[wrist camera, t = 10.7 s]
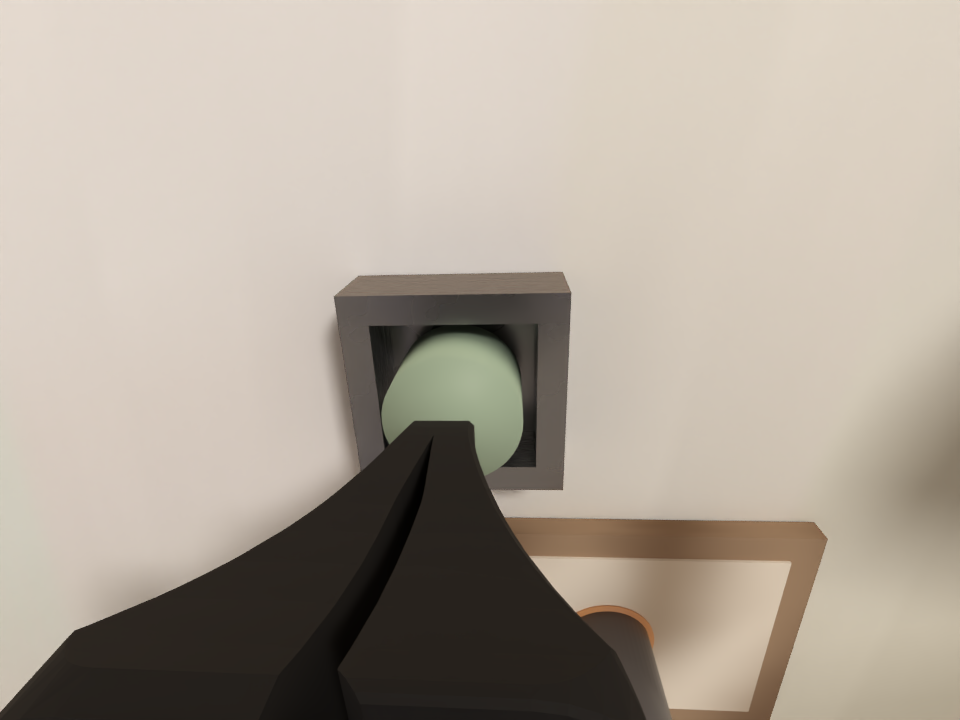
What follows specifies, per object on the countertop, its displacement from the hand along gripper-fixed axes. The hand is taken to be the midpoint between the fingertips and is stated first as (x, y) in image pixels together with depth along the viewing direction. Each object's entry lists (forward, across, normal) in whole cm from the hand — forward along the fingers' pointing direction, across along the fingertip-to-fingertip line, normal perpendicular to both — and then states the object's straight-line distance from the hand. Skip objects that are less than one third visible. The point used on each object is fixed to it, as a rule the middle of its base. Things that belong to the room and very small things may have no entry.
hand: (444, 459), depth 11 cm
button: (+5, 0, 0) cm, 5 cm away
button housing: (+5, 0, 0) cm, 5 cm away
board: (+5, -6, +11) cm, 14 cm away
